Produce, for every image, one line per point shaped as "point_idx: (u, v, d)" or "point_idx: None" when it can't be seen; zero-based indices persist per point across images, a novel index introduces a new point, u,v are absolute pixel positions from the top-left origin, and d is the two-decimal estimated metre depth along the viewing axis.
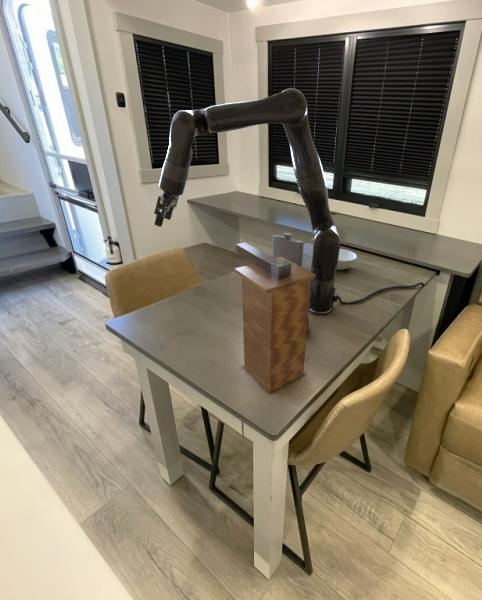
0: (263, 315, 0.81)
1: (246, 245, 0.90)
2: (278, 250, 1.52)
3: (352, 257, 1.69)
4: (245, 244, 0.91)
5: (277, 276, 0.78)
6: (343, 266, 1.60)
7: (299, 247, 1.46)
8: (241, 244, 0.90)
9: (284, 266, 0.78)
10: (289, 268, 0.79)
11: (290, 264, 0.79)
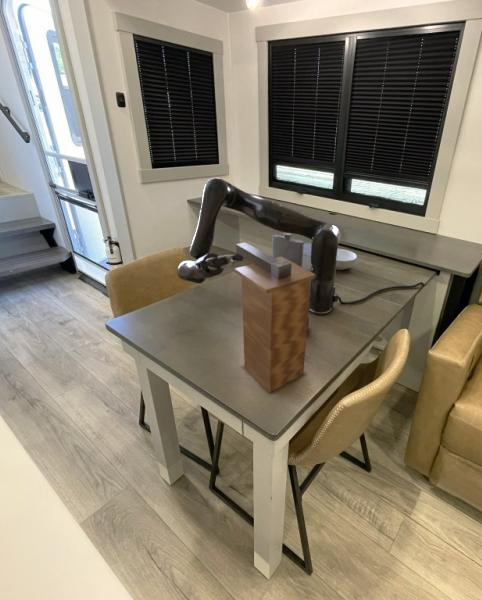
0: (263, 315, 0.81)
1: (246, 245, 0.90)
2: (278, 250, 1.52)
3: (352, 257, 1.69)
4: (245, 244, 0.91)
5: (277, 276, 0.78)
6: (343, 266, 1.60)
7: (299, 247, 1.46)
8: (241, 244, 0.90)
9: (284, 266, 0.78)
10: (289, 268, 0.79)
11: (290, 264, 0.79)
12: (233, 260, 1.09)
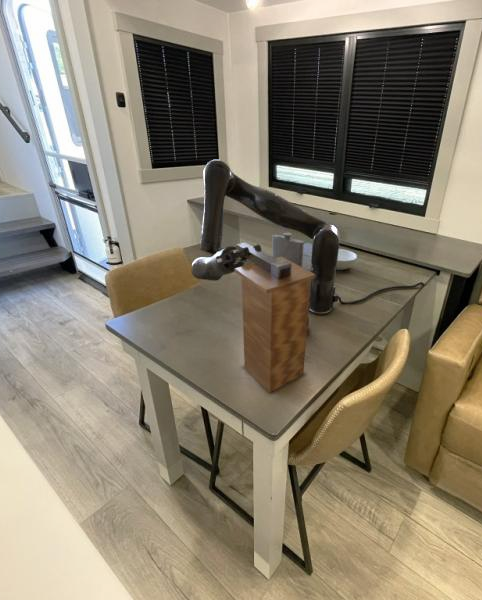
0: (263, 315, 0.81)
1: (246, 245, 0.90)
2: (278, 250, 1.52)
3: (352, 257, 1.69)
4: (245, 244, 0.91)
5: (277, 276, 0.78)
6: (343, 266, 1.60)
7: (299, 247, 1.46)
8: (242, 244, 0.90)
9: (284, 266, 0.78)
10: (289, 268, 0.79)
11: (290, 264, 0.79)
12: None
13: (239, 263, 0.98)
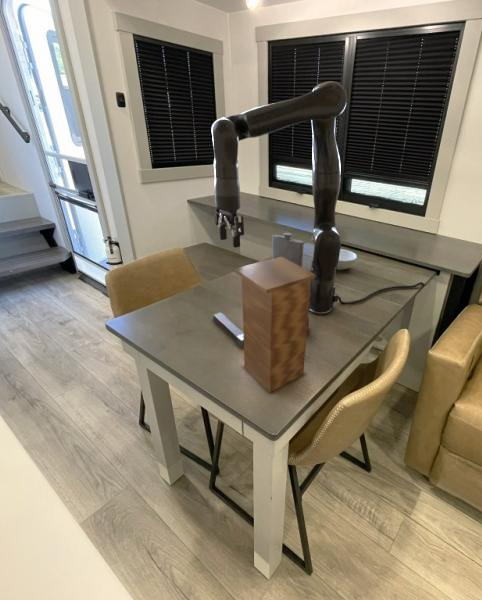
0: (263, 315, 0.81)
1: (221, 315, 1.17)
2: (278, 250, 1.52)
3: (352, 257, 1.69)
4: (220, 314, 1.18)
5: (241, 346, 1.05)
6: (343, 266, 1.60)
7: (299, 247, 1.46)
8: (217, 314, 1.18)
9: None
10: None
11: None
12: (219, 214, 1.08)
13: None
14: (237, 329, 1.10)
